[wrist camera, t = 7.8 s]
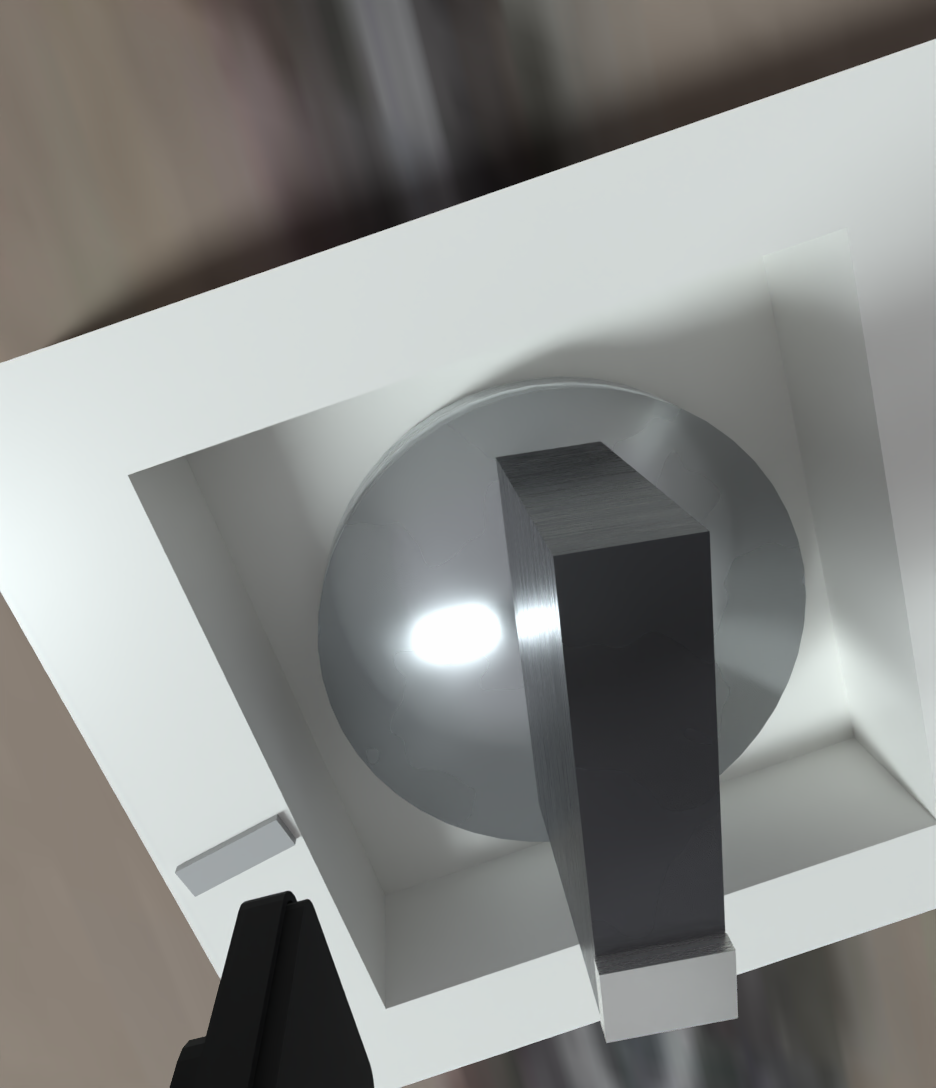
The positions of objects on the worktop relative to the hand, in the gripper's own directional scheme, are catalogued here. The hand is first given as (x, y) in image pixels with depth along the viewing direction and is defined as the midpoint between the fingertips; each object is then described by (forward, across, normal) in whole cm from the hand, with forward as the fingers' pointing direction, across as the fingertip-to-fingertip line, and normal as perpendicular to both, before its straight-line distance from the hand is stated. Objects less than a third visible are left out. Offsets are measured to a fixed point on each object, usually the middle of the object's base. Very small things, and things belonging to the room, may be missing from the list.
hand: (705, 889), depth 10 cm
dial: (+7, 0, -1) cm, 7 cm away
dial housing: (+9, 0, -1) cm, 9 cm away
